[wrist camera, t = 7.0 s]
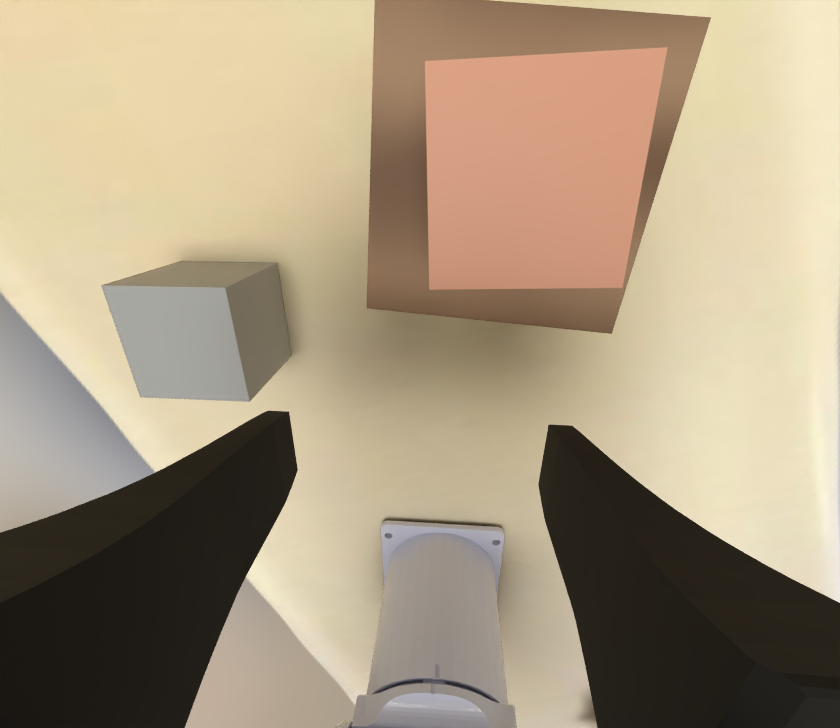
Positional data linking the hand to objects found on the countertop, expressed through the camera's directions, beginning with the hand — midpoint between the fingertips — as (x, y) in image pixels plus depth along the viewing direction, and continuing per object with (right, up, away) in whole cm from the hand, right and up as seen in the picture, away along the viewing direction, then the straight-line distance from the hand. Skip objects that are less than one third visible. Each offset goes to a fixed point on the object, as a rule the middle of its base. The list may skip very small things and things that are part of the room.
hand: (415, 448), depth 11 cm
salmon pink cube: (+3, +9, +3) cm, 10 cm away
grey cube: (-9, +5, +10) cm, 14 cm away
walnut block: (+4, +10, +7) cm, 13 cm away
